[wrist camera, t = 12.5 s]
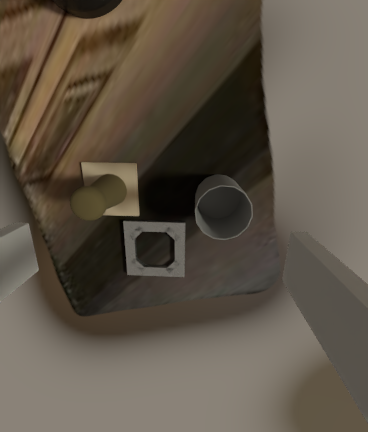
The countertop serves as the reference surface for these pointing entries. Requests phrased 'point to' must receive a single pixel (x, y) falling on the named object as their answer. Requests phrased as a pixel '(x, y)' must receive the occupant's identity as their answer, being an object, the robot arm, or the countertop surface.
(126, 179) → the coaster
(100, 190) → the pepper shaker
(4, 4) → the countertop surface
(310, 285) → the robot arm
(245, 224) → the cup
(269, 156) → the countertop surface
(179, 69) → the countertop surface
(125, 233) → the plate
